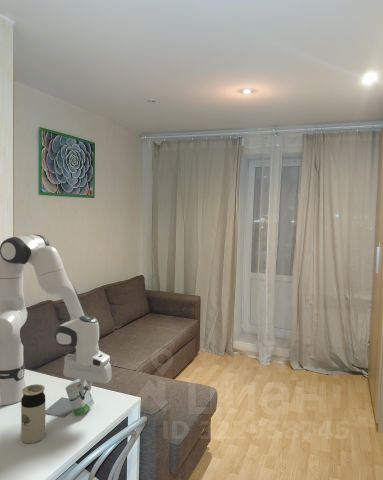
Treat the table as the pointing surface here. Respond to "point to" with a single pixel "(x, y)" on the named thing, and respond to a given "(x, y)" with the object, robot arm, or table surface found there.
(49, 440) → the table surface
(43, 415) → the travel mug
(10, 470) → the table surface
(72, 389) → the ink box
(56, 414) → the mat
